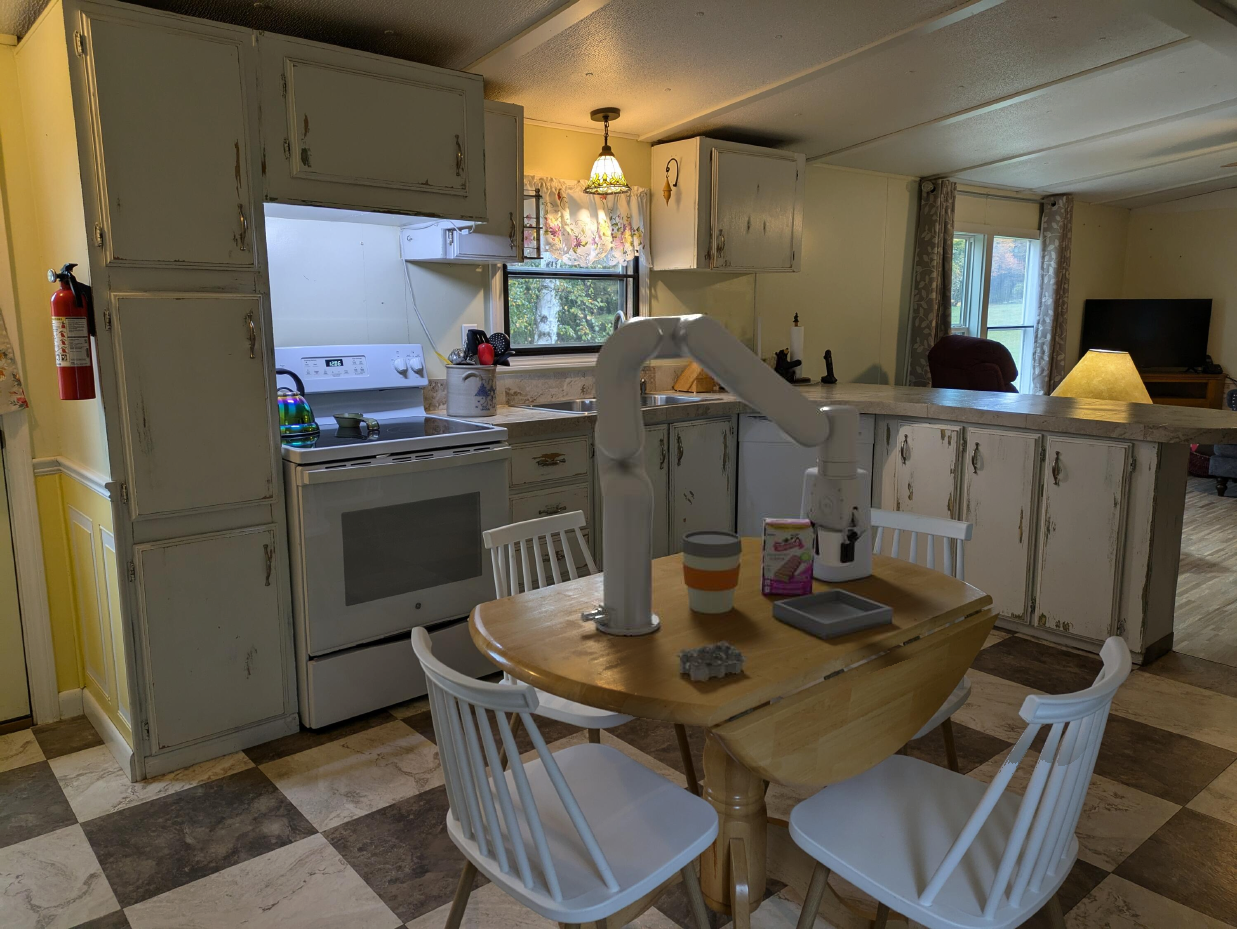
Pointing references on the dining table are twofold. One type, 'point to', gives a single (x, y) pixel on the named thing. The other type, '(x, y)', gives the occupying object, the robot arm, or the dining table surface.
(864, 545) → the plastic bottle
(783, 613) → the tray
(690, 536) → the reusable coffee cup
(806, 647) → the dining table surface
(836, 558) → the white cup
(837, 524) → the robot arm
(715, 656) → the egg carton
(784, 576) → the candy bar box
